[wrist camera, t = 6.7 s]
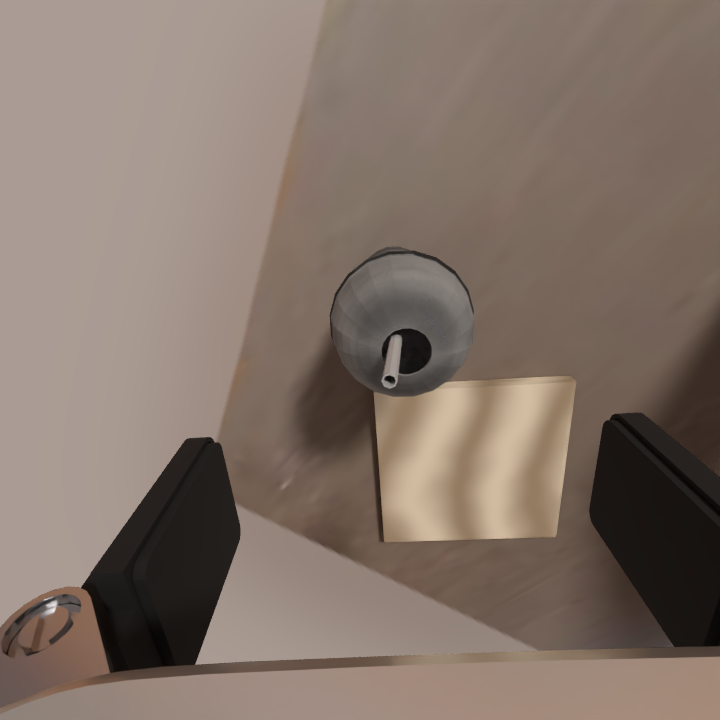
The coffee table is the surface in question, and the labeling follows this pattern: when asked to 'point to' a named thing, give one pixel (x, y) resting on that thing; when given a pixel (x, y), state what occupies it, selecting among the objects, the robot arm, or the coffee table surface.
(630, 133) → the coffee table surface
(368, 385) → the beverage cup
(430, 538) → the birch board
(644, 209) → the coffee table surface
